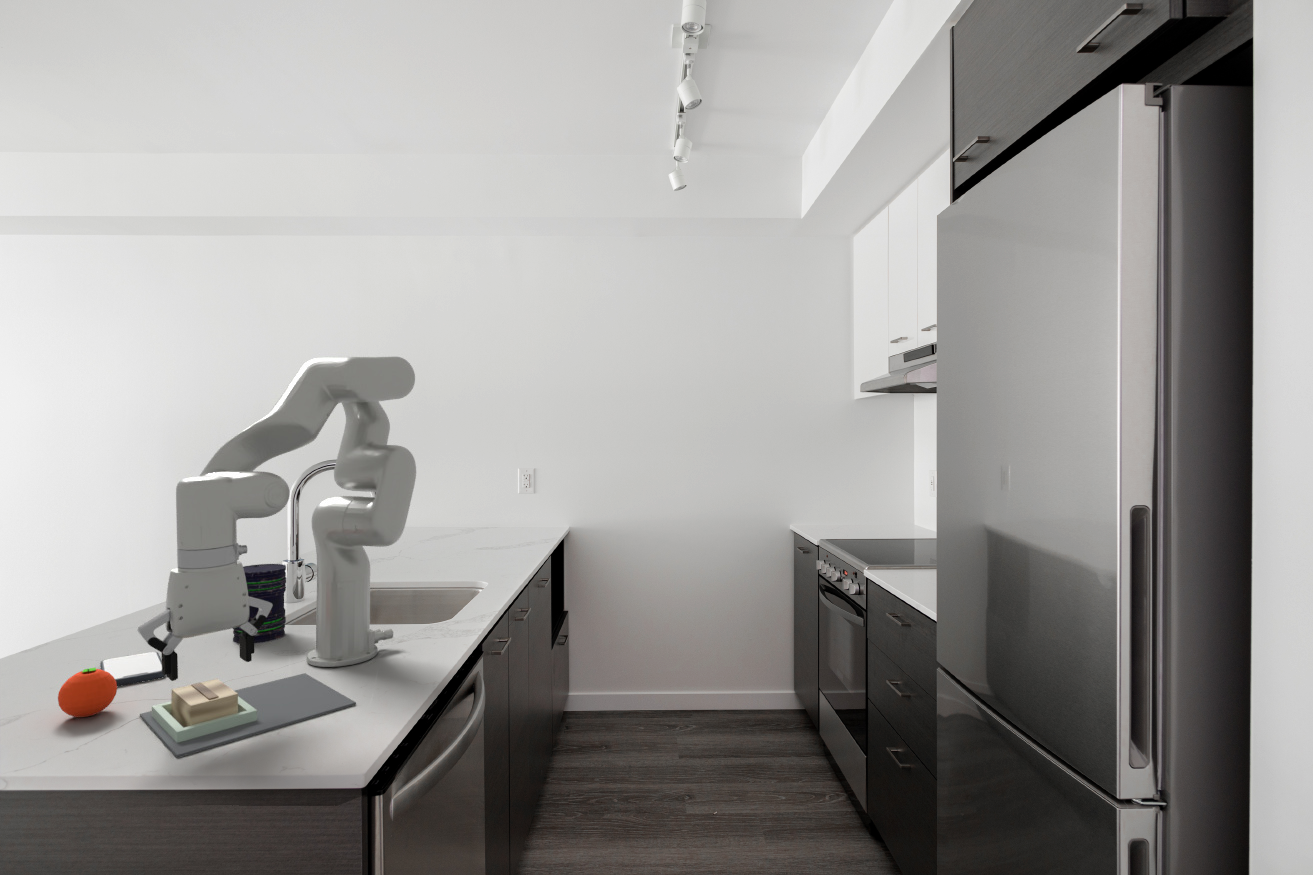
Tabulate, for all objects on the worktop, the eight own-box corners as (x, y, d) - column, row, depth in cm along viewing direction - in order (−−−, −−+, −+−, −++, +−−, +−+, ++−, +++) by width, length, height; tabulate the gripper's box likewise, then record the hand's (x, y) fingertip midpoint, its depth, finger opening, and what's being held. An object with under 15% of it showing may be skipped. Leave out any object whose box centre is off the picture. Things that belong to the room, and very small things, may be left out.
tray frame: (226, 696, 108) (227, 687, 108) (256, 720, 99) (256, 710, 99) (151, 715, 100) (151, 705, 100) (176, 742, 91) (177, 731, 91)
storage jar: (292, 636, 142) (293, 567, 142) (241, 647, 135) (242, 574, 135) (275, 627, 149) (276, 562, 149) (225, 637, 141) (226, 567, 141)
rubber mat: (304, 675, 119) (304, 673, 119) (355, 704, 106) (355, 702, 106) (139, 716, 101) (139, 713, 101) (176, 757, 88) (176, 754, 88)
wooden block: (237, 720, 99) (238, 692, 99) (190, 733, 94) (190, 704, 94) (216, 703, 105) (217, 677, 105) (171, 715, 100) (171, 687, 100)
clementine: (61, 710, 103) (62, 665, 103) (118, 700, 107) (119, 656, 107) (54, 728, 96) (54, 680, 96) (115, 717, 100) (116, 670, 100)
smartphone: (99, 668, 123) (102, 691, 111) (99, 659, 123) (102, 681, 111) (158, 658, 129) (167, 679, 117) (158, 650, 129) (167, 670, 117)
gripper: (261, 545, 109) (263, 647, 109) (130, 563, 96) (133, 679, 96) (279, 551, 104) (281, 658, 104) (143, 571, 91) (146, 693, 91)
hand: (210, 668), depth 100 cm, fingers open, 9 cm apart
